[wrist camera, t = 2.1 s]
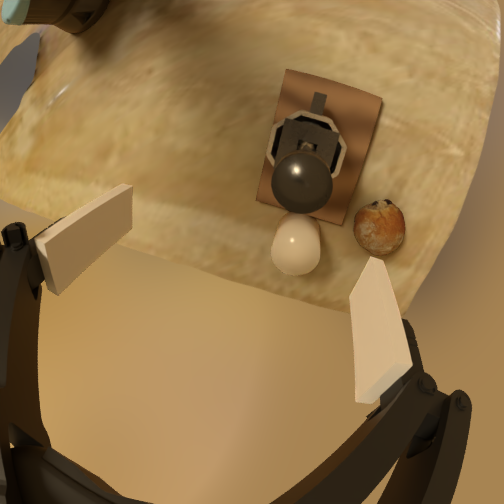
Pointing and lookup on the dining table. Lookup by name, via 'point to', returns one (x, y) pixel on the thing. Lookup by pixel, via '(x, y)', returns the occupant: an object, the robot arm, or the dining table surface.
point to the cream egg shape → (296, 244)
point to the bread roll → (379, 227)
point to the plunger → (302, 179)
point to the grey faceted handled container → (308, 135)
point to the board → (347, 123)
